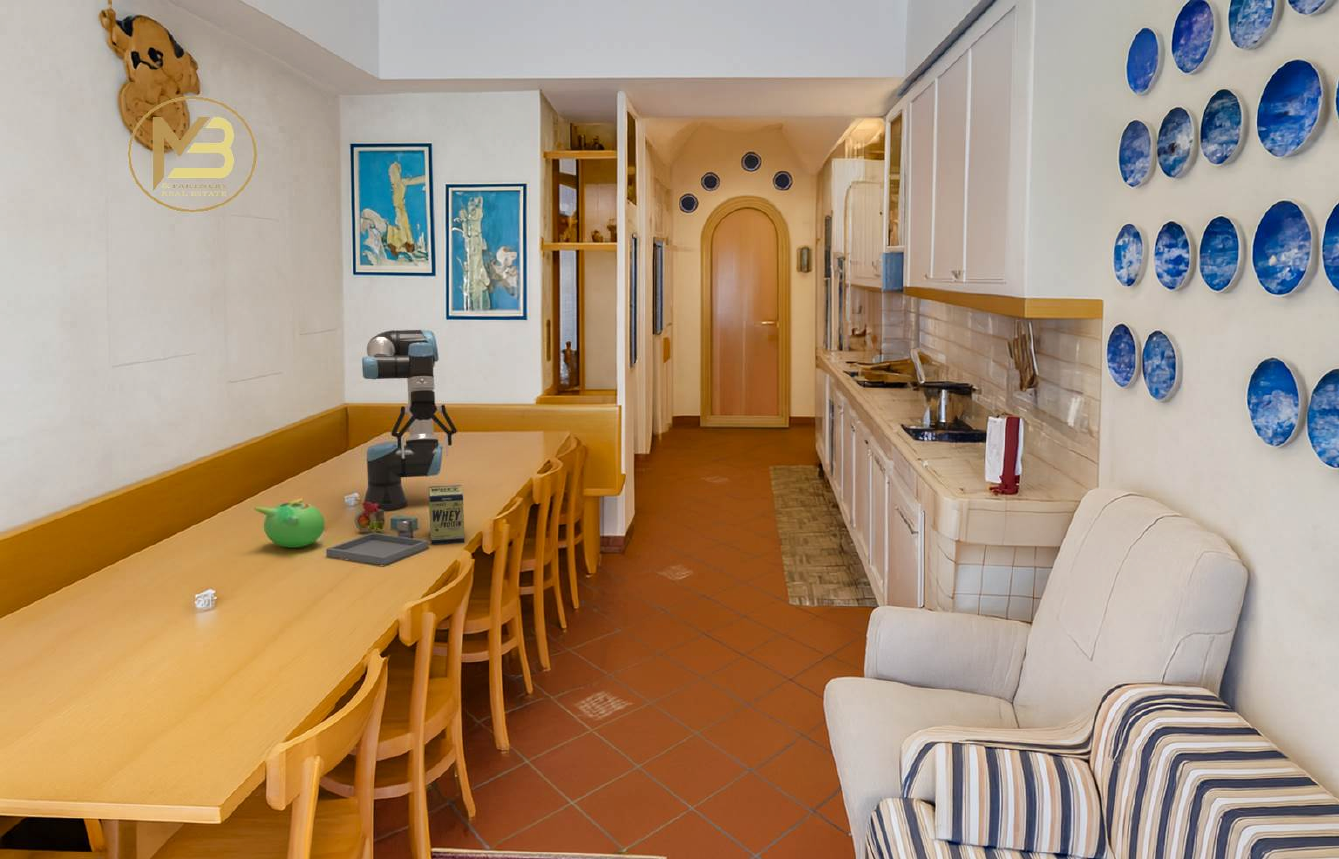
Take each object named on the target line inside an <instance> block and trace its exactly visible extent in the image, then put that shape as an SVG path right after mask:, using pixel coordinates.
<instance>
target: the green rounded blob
mask: <svg viewBox="0 0 1339 859" xmlns="http://www.w3.org/2000/svg"><path fill="white" fill-rule="evenodd" d="M303 500H304V499H303V498H301V497H300V498H296V499H294V500H292V501H289V502H284V503H281V504H278V505H277V506H275V507H267V506H266V507H265V506H255V507H254V508H253V509H254V510H255V511H256V512H258V513H260V514H263V515H265V518H264V521H263V530H264V533H265V535H266V536H267V538H268V539H269V540H270V541H271V542H272V543H273V544H276V545H277V546H280V547H283V548H284V547H285V548H288V549H291V548H293V549H295V548H303V547H306V546H309V545H312V544H313V543H314V542H316V541H317V540H319V538H320V537H321V536H322V535H323V532H324V530H325V519H324V516H323V514H322V512H320V510H319V509H318V508H317V507H315V506H314V505H312V504H310V503H307V502H303Z"/></svg>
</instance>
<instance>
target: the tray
mask: <svg viewBox="0 0 1339 859" xmlns="http://www.w3.org/2000/svg"><path fill="white" fill-rule="evenodd" d="M429 545H430V544H429V540H426V539H418V538H414V539H413V538H406V537H399V536H397V535H392V534H391V535H390V534H384V533H383V534H382V533H377V532H376V533H373V532H371V533H368V534H365V535H362V536H359V537H356V538H353V539H351V540H348V541H345V542H342V543H339V544H335V545H333V546H330V547H327V548H326V549H325V551H326V552H325V554H326V557H327V558H332V559H337V558H342V559H341V560H343V559H348V560H347V561H349V560H353V561H352V562H355V561H358V562H357V563H361V562H364V563H363V564H367V563H370V565H373V564H374V565H375V566H379V565H383V566H382V567H386V566H388V565H392V564H393V563H396V562H398V560H399V561H401V559H402V560H404V559H406V558H409V557H411V556H414V555H416V554H418V553H419V554H420V553H421V552H424V551H426V550H429V549H430V546H429ZM385 565H386V566H385Z"/></svg>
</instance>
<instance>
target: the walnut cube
mask: <svg viewBox="0 0 1339 859" xmlns="http://www.w3.org/2000/svg"><path fill="white" fill-rule="evenodd" d="M373 514H374V515H375V517H376V522H379V521H383V522H384V525H385V511H384V510H381V509H378V511H377V512H374V511H373ZM363 516H365V515H363ZM368 518H369V519H370V517H368ZM370 522H371V519H370ZM369 525H370V524H369ZM369 525H368V526H369Z"/></svg>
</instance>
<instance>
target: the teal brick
mask: <svg viewBox="0 0 1339 859" xmlns="http://www.w3.org/2000/svg"><path fill="white" fill-rule="evenodd" d="M389 519H390V530H392V531H397V520H399V519H413V532H414V531H417V530H419V523H418V522H419V521H418V520H419V519H418V517H413V516H405V515H396V516H392V517H390V518H389Z"/></svg>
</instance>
